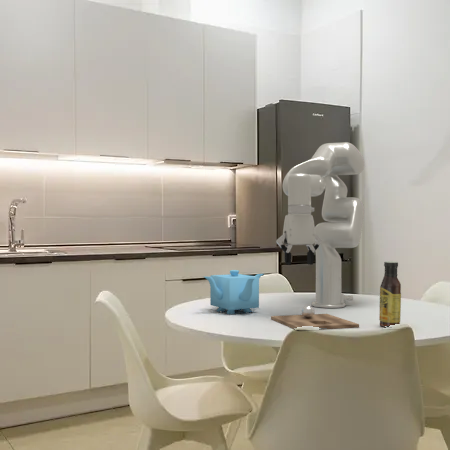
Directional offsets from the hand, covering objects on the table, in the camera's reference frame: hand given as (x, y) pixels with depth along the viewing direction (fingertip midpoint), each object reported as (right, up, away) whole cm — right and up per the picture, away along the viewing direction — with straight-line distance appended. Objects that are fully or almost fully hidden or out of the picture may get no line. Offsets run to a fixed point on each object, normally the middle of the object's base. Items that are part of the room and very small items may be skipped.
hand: (299, 264), depth 206 cm
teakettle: (-21, -18, +14) cm, 31 cm away
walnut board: (+3, -18, -10) cm, 21 cm away
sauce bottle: (+26, -18, -16) cm, 35 cm away
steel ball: (+2, -15, -7) cm, 16 cm away
